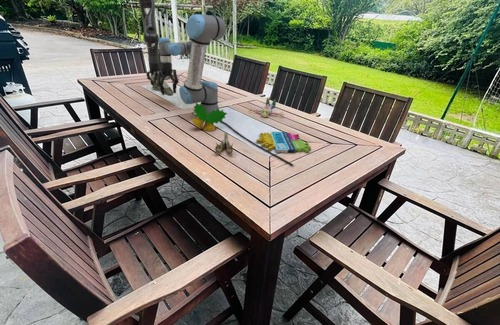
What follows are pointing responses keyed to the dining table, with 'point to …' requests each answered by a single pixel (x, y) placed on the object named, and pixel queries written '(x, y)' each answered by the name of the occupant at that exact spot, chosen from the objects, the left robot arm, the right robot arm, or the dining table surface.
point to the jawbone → (224, 145)
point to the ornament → (207, 117)
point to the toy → (267, 109)
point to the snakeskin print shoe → (167, 88)
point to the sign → (283, 142)
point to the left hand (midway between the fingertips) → (156, 84)
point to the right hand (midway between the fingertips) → (168, 93)
